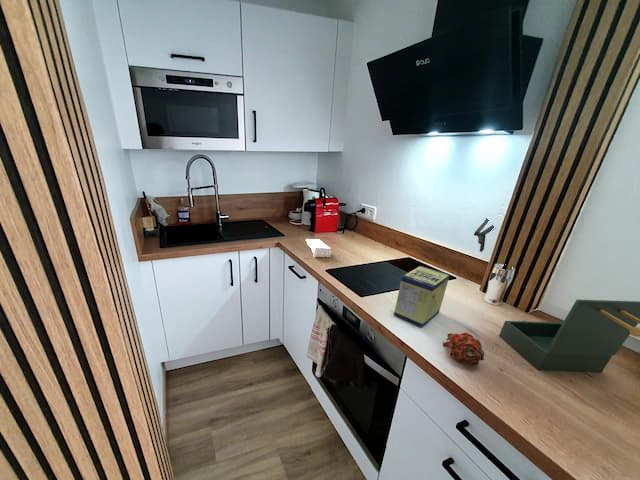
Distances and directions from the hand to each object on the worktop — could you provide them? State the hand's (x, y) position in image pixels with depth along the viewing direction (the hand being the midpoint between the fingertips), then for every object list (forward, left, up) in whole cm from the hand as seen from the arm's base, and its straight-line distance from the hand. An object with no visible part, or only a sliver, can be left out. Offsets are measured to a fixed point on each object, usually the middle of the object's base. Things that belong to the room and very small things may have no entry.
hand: (501, 253), depth 114 cm
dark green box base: (-9, +39, -18) cm, 44 cm away
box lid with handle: (-12, +46, -3) cm, 48 cm away
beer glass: (0, +9, -18) cm, 20 cm away
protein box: (+27, +34, -18) cm, 47 cm away
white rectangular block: (+82, -15, -18) cm, 85 cm away
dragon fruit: (+15, +54, -18) cm, 59 cm away
